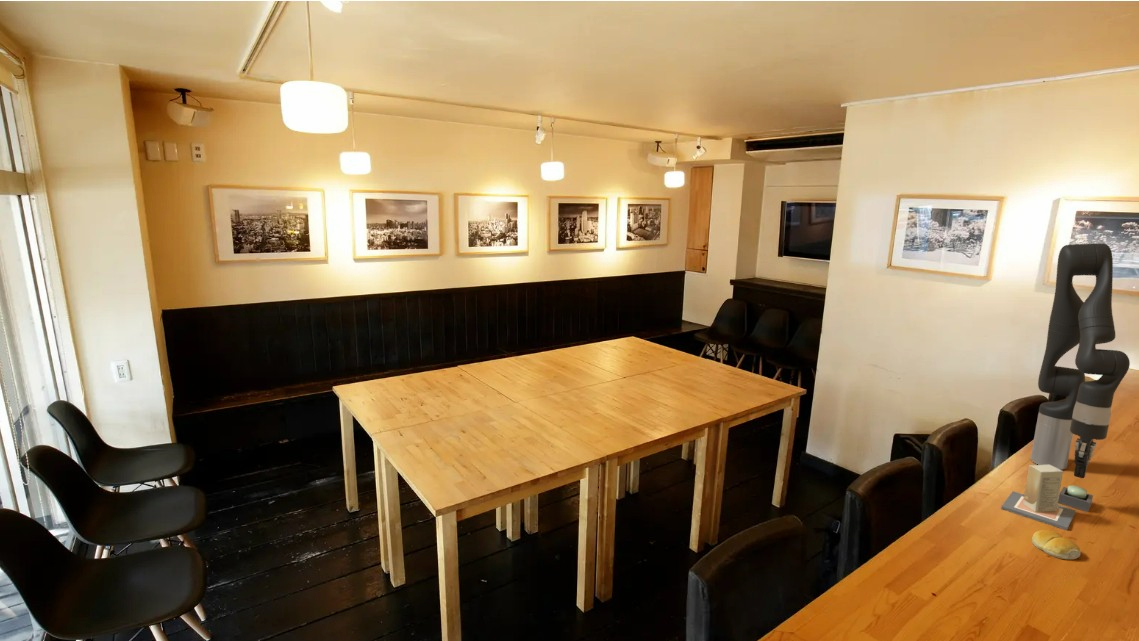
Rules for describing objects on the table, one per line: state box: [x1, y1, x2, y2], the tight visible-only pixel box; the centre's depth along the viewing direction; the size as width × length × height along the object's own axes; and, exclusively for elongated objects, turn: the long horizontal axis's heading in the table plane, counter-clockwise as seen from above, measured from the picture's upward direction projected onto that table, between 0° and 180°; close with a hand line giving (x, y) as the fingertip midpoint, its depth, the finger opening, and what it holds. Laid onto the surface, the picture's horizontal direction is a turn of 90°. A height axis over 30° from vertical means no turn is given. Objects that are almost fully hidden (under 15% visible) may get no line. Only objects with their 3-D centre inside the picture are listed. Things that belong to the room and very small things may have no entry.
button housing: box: [1058, 486, 1094, 513], centre depth 156 cm, size 6×6×3 cm
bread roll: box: [1031, 529, 1081, 560], centre depth 135 cm, size 8×9×4 cm
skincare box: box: [1023, 464, 1064, 512], centre depth 151 cm, size 6×4×12 cm
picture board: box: [1000, 490, 1077, 531], centre depth 152 cm, size 13×14×1 cm
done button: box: [1067, 484, 1088, 498], centre depth 155 cm, size 4×4×2 cm
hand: (1079, 476), depth 154 cm, fingers closed
